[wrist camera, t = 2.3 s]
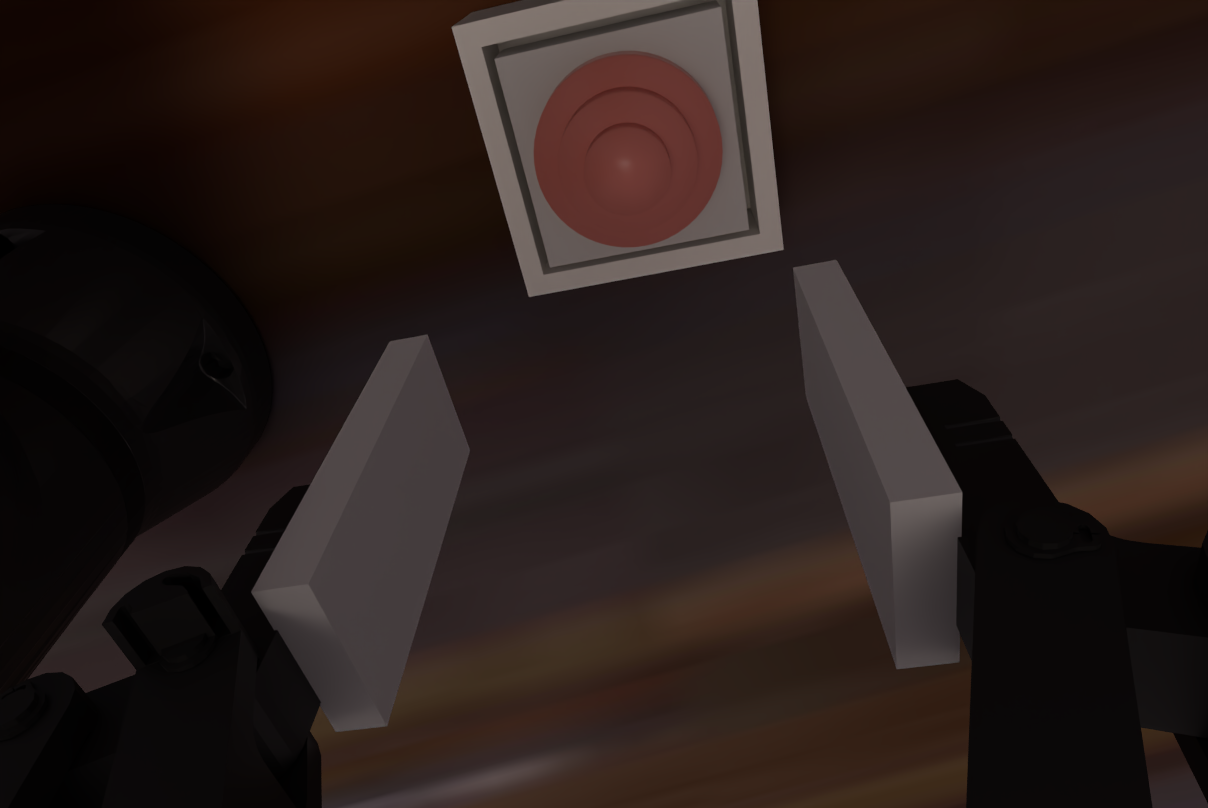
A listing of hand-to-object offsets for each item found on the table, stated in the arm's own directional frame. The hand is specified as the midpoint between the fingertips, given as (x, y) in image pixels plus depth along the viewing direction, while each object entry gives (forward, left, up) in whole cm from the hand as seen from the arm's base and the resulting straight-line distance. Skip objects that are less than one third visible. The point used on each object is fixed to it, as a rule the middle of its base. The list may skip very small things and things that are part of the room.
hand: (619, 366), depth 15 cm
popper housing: (0, 0, -20) cm, 20 cm away
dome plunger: (0, 0, -18) cm, 18 cm away
